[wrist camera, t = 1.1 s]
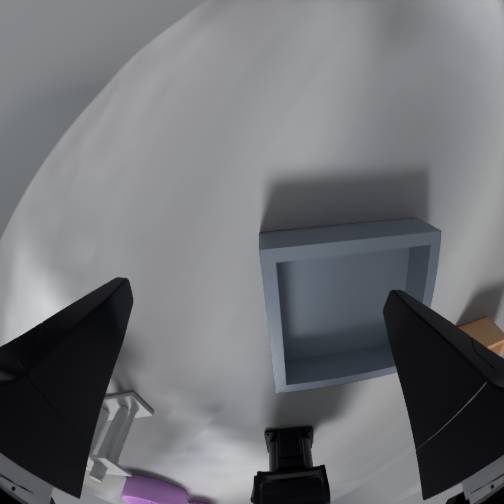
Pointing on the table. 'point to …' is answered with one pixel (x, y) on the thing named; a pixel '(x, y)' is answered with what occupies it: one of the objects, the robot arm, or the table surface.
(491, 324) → the small crate
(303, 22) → the table surface
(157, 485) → the container set
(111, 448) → the test tube rack
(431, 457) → the robot arm
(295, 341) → the large crate
